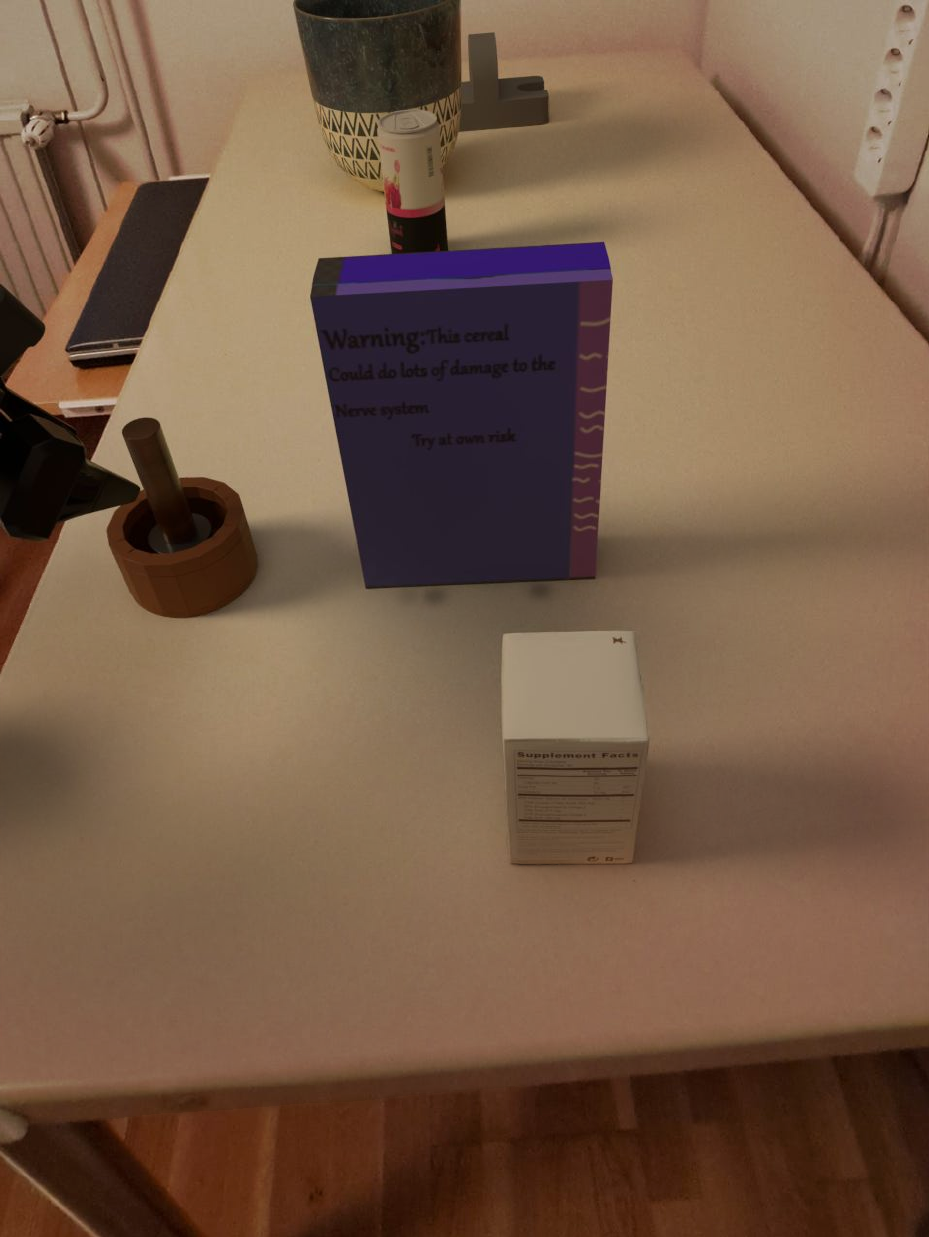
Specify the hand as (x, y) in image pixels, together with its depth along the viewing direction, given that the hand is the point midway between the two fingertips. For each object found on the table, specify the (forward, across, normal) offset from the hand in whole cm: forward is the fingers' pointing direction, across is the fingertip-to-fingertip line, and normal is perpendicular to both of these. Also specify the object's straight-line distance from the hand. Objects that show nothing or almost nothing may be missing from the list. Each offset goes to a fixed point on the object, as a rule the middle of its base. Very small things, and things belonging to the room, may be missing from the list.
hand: (104, 464), depth 63 cm
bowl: (+11, 0, +6) cm, 13 cm away
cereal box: (+23, -15, -5) cm, 28 cm away
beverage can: (+44, +28, -27) cm, 58 cm away
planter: (+52, +46, -36) cm, 78 cm away
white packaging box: (+15, -36, +3) cm, 39 cm away
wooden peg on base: (+11, 0, +6) cm, 12 cm away
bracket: (+69, +55, -53) cm, 103 cm away
